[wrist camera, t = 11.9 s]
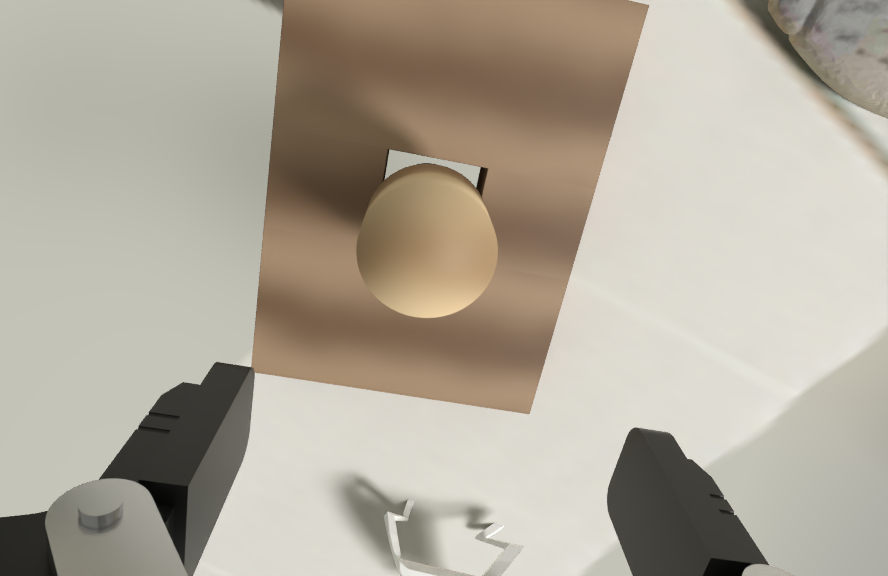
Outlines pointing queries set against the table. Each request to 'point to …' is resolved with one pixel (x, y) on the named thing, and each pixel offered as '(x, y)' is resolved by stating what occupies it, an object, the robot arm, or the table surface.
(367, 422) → the table surface
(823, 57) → the decorative stone
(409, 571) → the origami figure
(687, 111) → the table surface
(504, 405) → the wooden board with hole
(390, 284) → the oak peg
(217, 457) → the robot arm
